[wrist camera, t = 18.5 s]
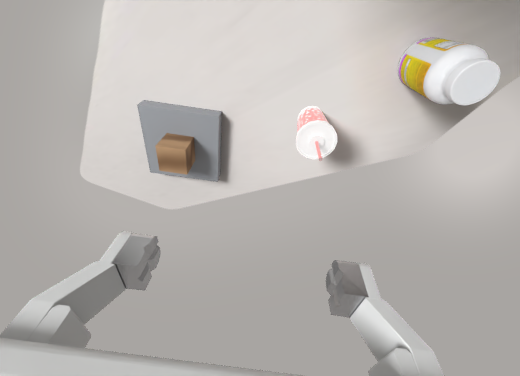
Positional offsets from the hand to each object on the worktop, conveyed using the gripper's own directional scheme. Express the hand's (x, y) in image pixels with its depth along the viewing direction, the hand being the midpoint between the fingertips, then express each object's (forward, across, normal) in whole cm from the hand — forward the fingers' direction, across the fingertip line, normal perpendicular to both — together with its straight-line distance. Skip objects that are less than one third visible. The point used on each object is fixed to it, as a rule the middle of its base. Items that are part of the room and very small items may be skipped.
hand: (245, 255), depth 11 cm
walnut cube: (+33, +15, +14) cm, 38 cm away
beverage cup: (+35, -8, +6) cm, 37 cm away
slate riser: (+35, +15, +14) cm, 41 cm away
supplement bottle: (+35, -22, -5) cm, 42 cm away
